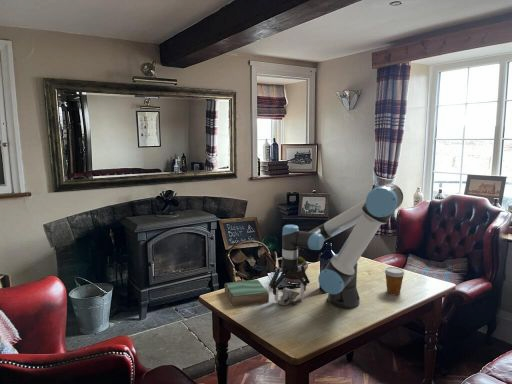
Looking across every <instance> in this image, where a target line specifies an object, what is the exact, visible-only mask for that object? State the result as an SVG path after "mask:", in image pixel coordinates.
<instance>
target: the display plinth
mask: <svg viewBox="0 0 512 384" xmlns="http://www.w3.org/2000/svg"><path fill="white" fill-rule="evenodd" d="M224 293H225V295H226V297H227V300H228V301H229V303H230V305H231V307H232V308H236V307H242V306H250V305H257V304H259V305H260V304H265V303H269V301H270V293H269V292H268V290H267V289H266V288H265V286H264V285H263V284H262V283H261V282H260V280H259V279H257V278H256V279H250V280H240V281H233V282H225V283H224Z"/></svg>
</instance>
